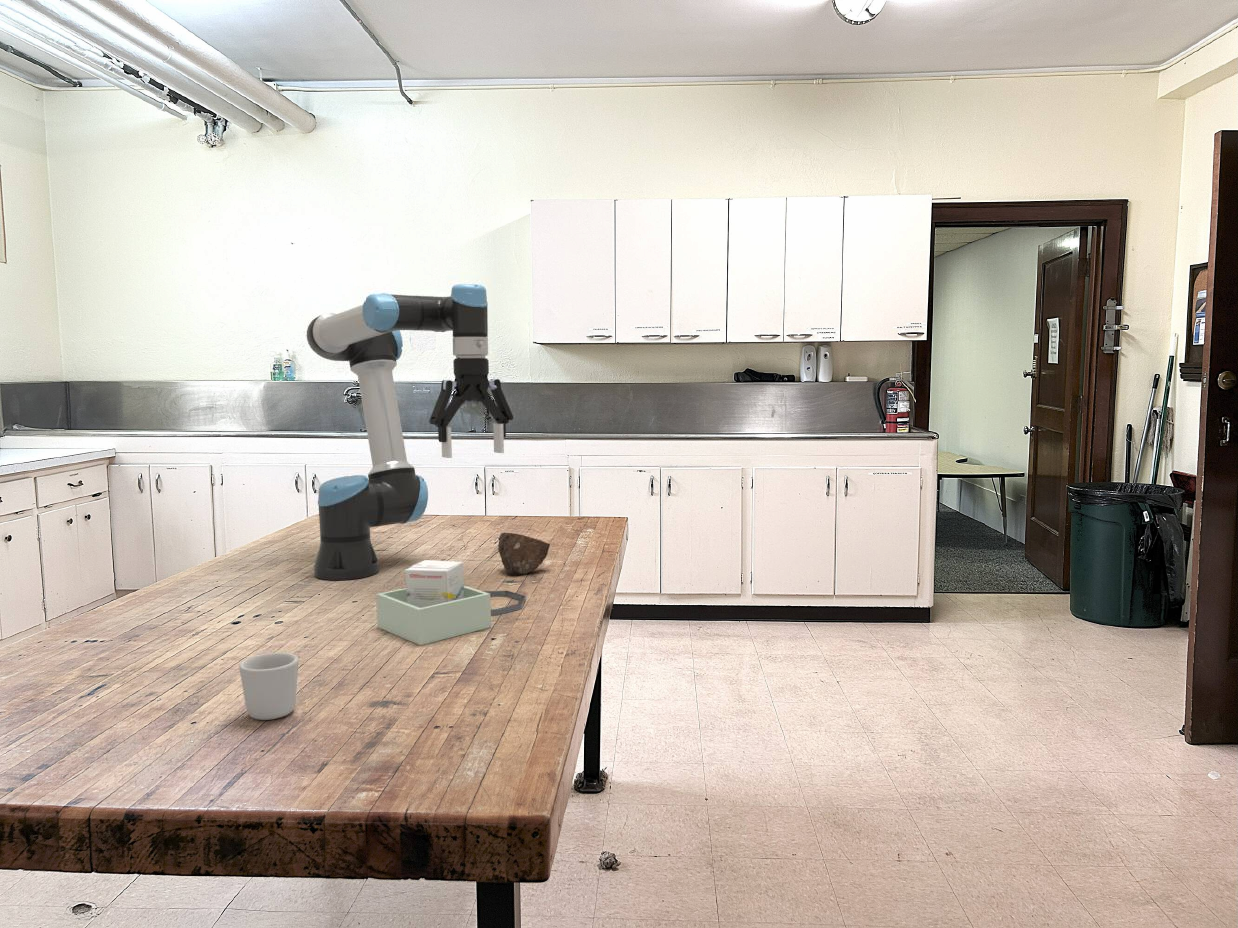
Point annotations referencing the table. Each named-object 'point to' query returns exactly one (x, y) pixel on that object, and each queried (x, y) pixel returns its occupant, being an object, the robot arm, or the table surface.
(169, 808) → the table surface
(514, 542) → the rock
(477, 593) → the bin
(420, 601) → the ink box
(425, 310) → the robot arm
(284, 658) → the cup
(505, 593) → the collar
